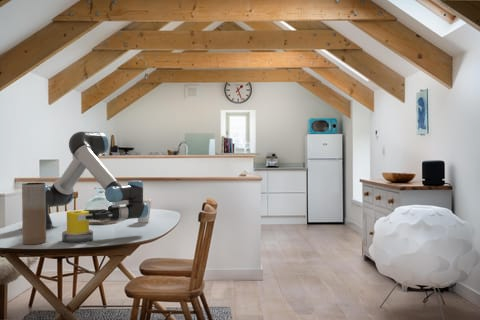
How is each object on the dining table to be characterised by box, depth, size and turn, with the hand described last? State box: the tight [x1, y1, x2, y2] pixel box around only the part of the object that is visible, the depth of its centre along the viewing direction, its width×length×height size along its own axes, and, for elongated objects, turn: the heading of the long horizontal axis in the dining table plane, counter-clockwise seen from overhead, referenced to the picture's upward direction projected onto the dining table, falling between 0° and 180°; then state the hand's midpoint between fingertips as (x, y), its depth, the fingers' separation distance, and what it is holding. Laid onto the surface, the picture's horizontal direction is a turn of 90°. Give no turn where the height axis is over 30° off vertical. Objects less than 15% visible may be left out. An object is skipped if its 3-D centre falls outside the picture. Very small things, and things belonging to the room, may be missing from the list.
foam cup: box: [137, 198, 152, 224], centre depth 271 cm, size 10×9×13 cm
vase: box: [21, 182, 47, 246], centre depth 212 cm, size 10×10×28 cm
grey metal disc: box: [61, 229, 94, 244], centre depth 218 cm, size 14×14×4 cm
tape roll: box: [66, 210, 90, 234], centre depth 218 cm, size 10×10×9 cm
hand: (73, 216), depth 216 cm, fingers open, 13 cm apart
